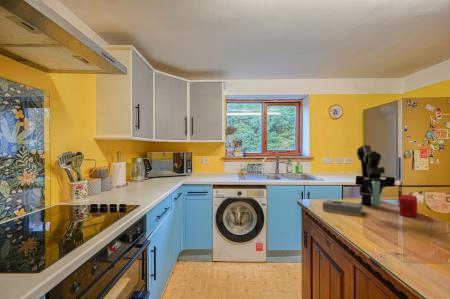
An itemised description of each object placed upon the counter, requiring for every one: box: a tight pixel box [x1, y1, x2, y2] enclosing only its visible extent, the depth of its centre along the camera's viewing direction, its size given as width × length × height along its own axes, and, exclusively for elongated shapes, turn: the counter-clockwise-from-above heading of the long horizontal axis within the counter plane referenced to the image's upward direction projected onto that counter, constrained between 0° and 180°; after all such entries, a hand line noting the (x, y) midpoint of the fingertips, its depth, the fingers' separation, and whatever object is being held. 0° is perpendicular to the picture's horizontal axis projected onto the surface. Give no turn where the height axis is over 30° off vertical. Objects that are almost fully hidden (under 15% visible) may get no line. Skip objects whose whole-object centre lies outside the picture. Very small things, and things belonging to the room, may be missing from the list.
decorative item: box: [397, 194, 418, 218], centre depth 136 cm, size 15×9×10 cm, turn 141°
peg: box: [371, 181, 381, 207], centre depth 130 cm, size 4×4×13 cm
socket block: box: [322, 199, 363, 216], centre depth 144 cm, size 10×20×4 cm, turn 51°
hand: (376, 193), depth 128 cm, fingers closed on peg, 4 cm apart
